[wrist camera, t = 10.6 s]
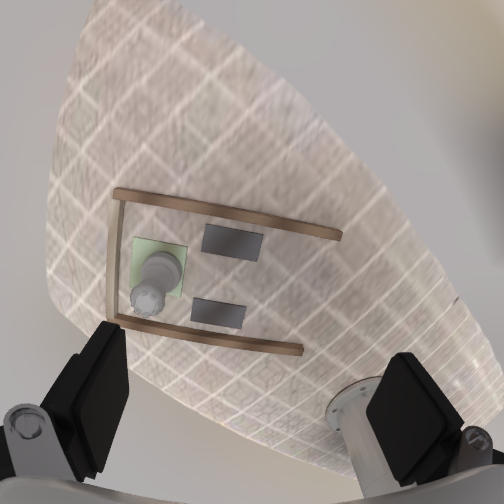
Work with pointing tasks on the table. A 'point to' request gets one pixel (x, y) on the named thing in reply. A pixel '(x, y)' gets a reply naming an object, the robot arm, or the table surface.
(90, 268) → the table surface
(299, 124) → the table surface
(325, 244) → the table surface
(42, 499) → the robot arm
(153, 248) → the wooden u-shaped frame
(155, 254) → the rook chess piece
